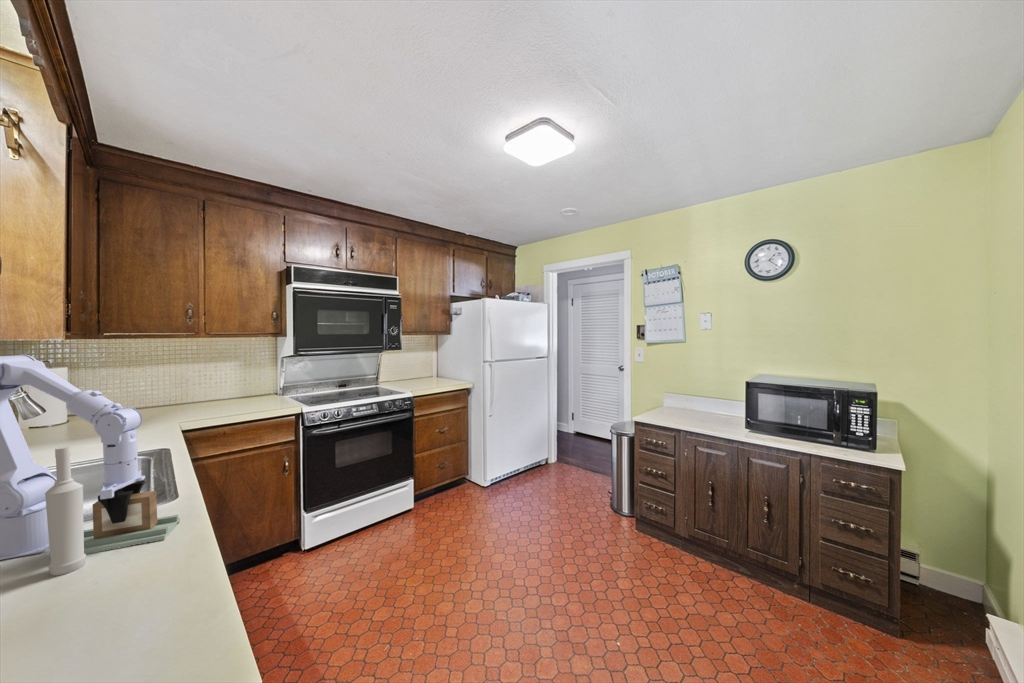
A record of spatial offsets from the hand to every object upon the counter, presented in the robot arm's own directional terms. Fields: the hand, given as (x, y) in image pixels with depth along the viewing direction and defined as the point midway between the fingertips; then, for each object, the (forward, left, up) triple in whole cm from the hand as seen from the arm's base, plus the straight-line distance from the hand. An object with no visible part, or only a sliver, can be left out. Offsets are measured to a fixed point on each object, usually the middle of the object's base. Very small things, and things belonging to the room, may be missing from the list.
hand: (123, 518), depth 94 cm
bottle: (-5, -11, -5) cm, 13 cm away
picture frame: (+1, 0, -3) cm, 3 cm away
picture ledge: (0, 0, -5) cm, 5 cm away
